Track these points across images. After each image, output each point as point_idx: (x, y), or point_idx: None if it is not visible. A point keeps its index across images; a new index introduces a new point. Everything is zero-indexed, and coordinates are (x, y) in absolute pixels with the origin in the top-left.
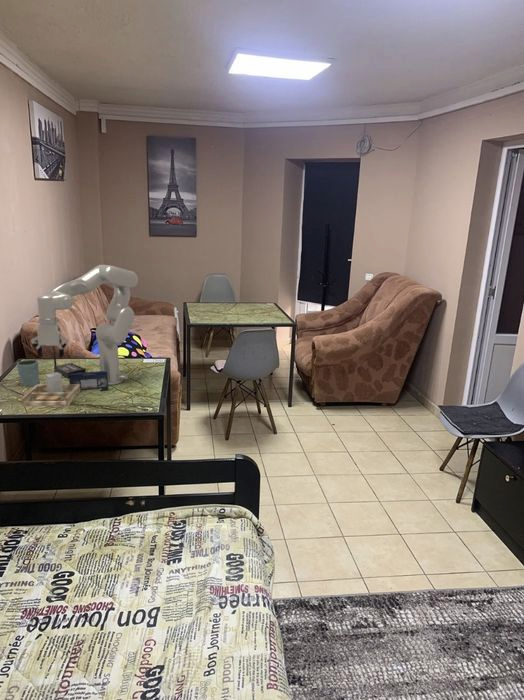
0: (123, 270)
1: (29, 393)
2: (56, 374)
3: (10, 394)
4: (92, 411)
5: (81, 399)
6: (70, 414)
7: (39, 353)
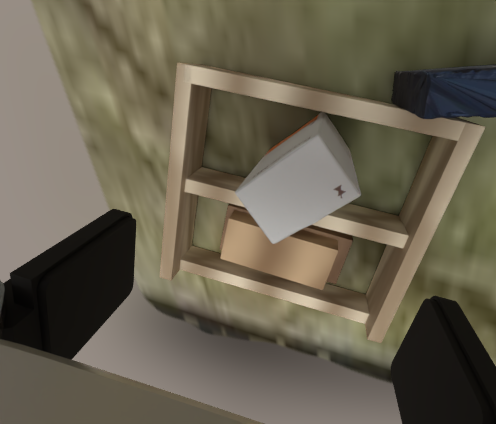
0: None
1: (178, 215)
2: (321, 208)
3: (67, 38)
4: None
5: (446, 215)
6: (376, 367)
7: (91, 329)
